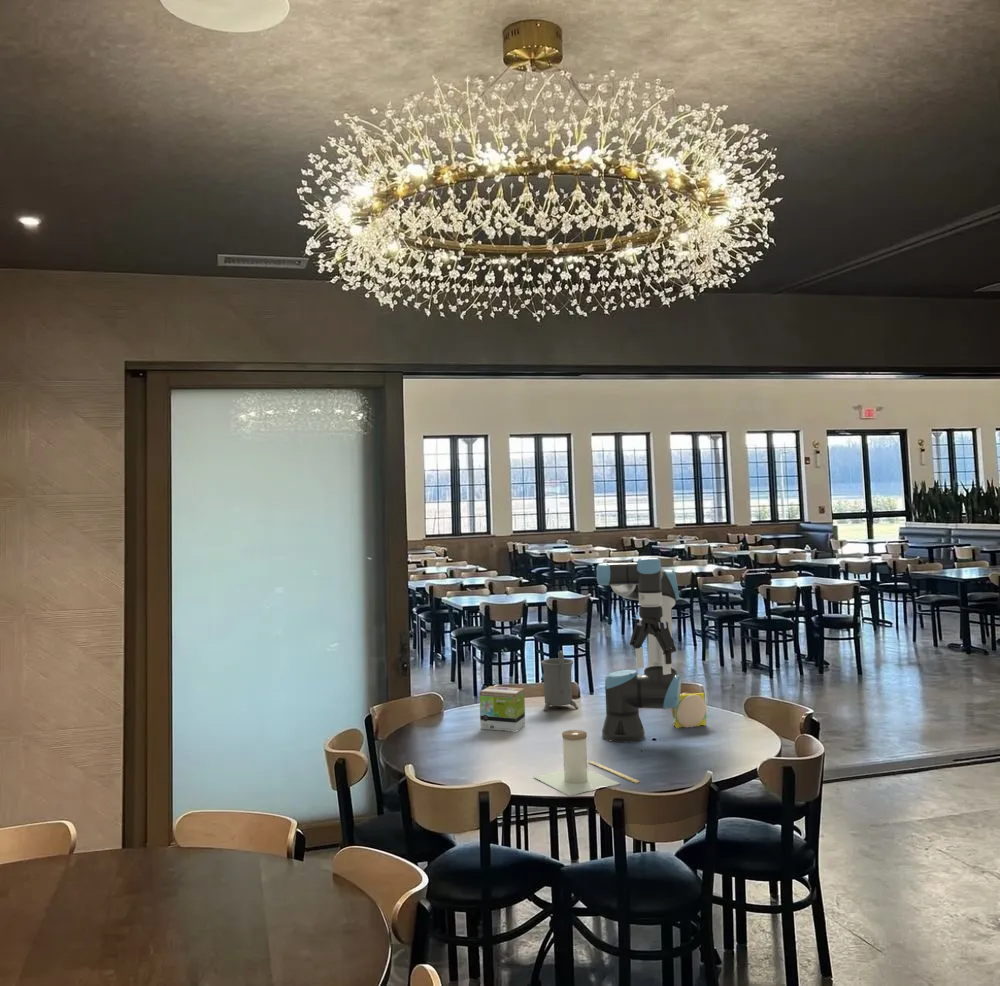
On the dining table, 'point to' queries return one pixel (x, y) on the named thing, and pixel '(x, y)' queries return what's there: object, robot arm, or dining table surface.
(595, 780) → the mat
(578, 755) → the canister
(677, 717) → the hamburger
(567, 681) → the grey footed bucket
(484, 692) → the tea box
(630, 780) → the tan wooden stick
